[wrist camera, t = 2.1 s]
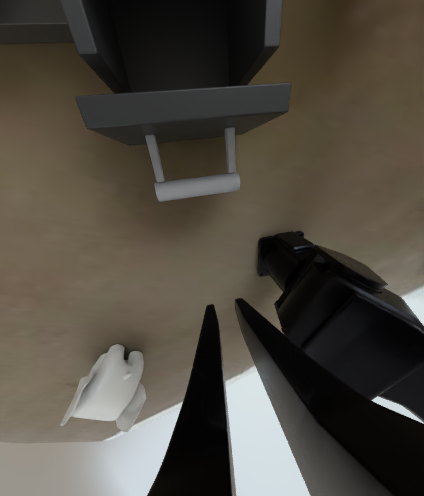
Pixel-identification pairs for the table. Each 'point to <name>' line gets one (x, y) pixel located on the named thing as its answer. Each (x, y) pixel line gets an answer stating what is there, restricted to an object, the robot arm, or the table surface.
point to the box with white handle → (179, 75)
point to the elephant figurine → (111, 390)
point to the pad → (33, 22)
